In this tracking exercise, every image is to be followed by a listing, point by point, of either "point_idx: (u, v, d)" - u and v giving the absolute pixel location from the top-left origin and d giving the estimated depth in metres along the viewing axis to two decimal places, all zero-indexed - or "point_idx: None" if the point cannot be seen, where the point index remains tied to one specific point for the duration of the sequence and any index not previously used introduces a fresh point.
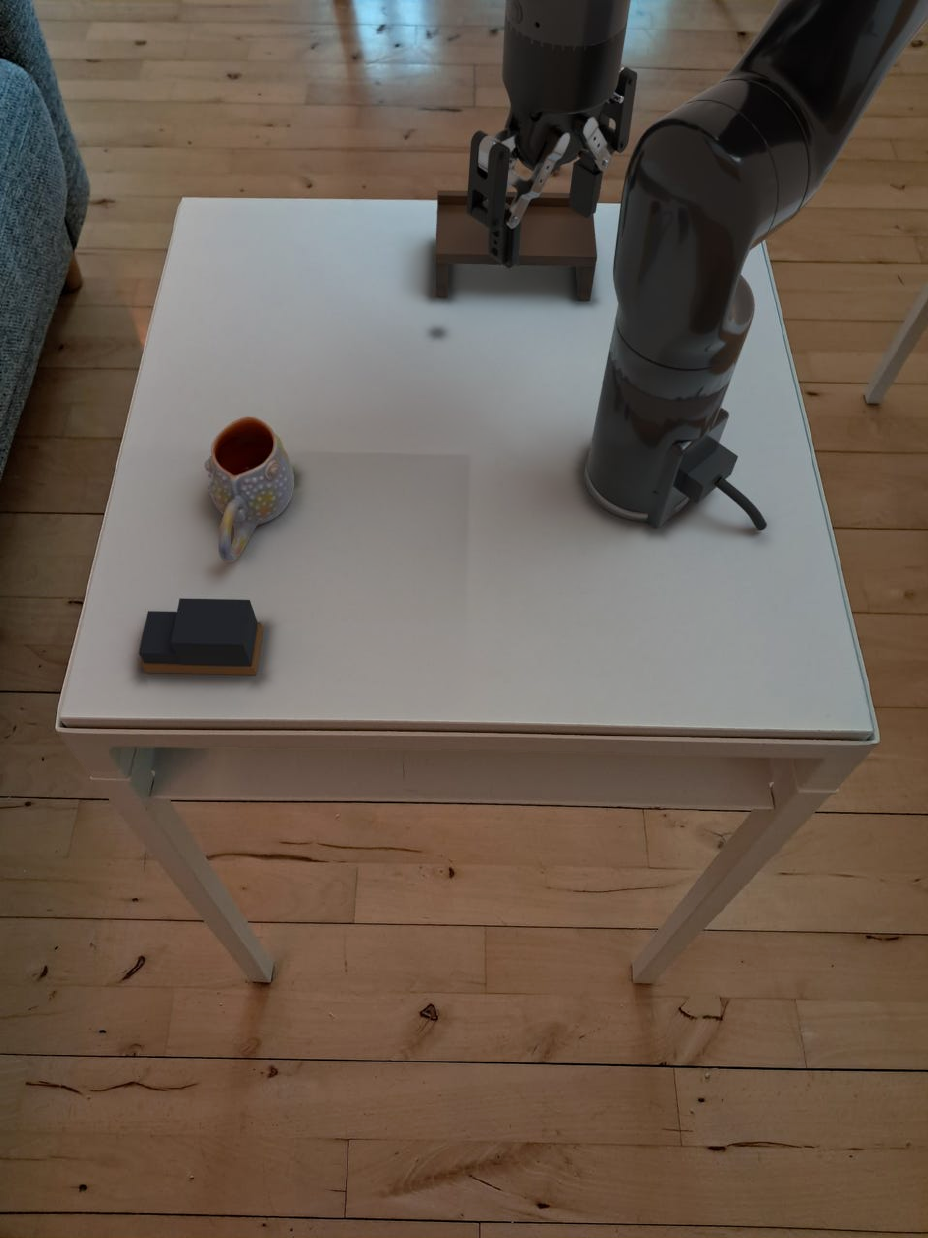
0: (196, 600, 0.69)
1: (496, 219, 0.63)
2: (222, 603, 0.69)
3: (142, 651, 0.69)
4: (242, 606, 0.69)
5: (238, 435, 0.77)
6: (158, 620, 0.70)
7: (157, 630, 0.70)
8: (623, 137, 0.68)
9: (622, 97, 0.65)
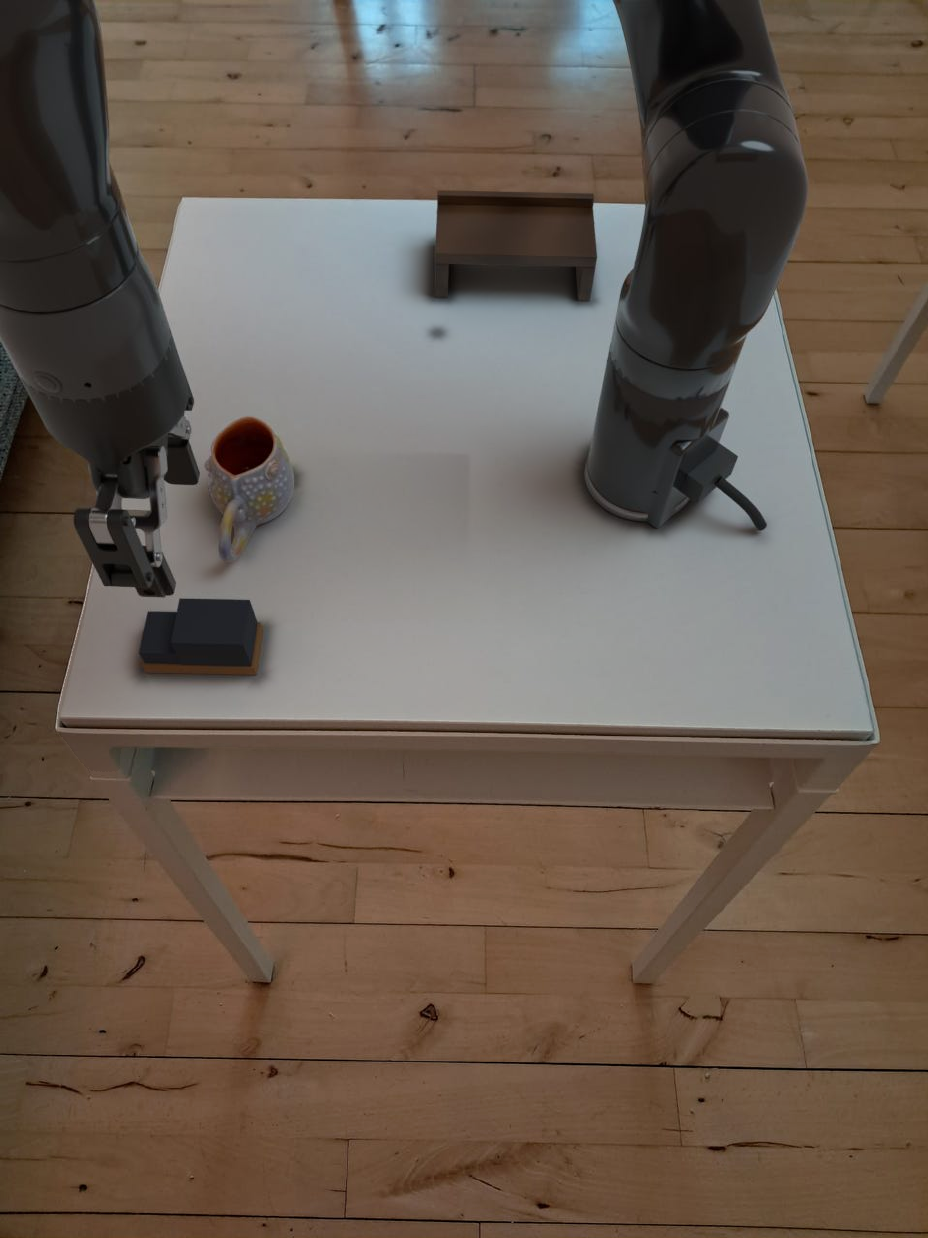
0: (196, 600, 0.69)
1: (147, 575, 0.51)
2: (222, 603, 0.69)
3: (142, 651, 0.69)
4: (242, 606, 0.69)
5: (238, 435, 0.77)
6: (158, 620, 0.70)
7: (157, 630, 0.70)
8: (188, 395, 0.58)
9: None
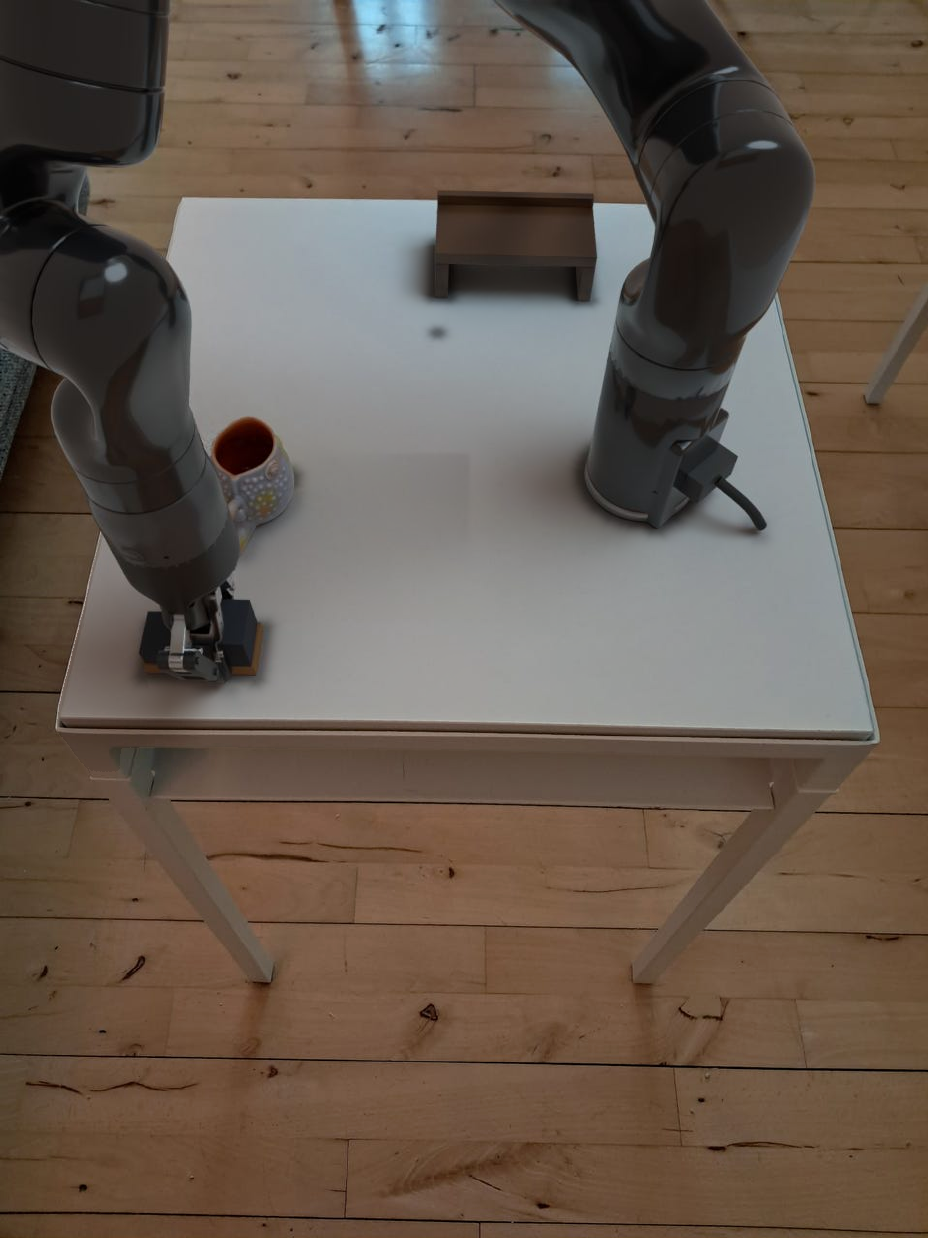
0: None
1: (214, 673, 0.65)
2: (222, 603, 0.69)
3: (142, 651, 0.69)
4: (242, 606, 0.69)
5: (238, 435, 0.76)
6: (158, 620, 0.70)
7: (157, 630, 0.70)
8: None
9: None
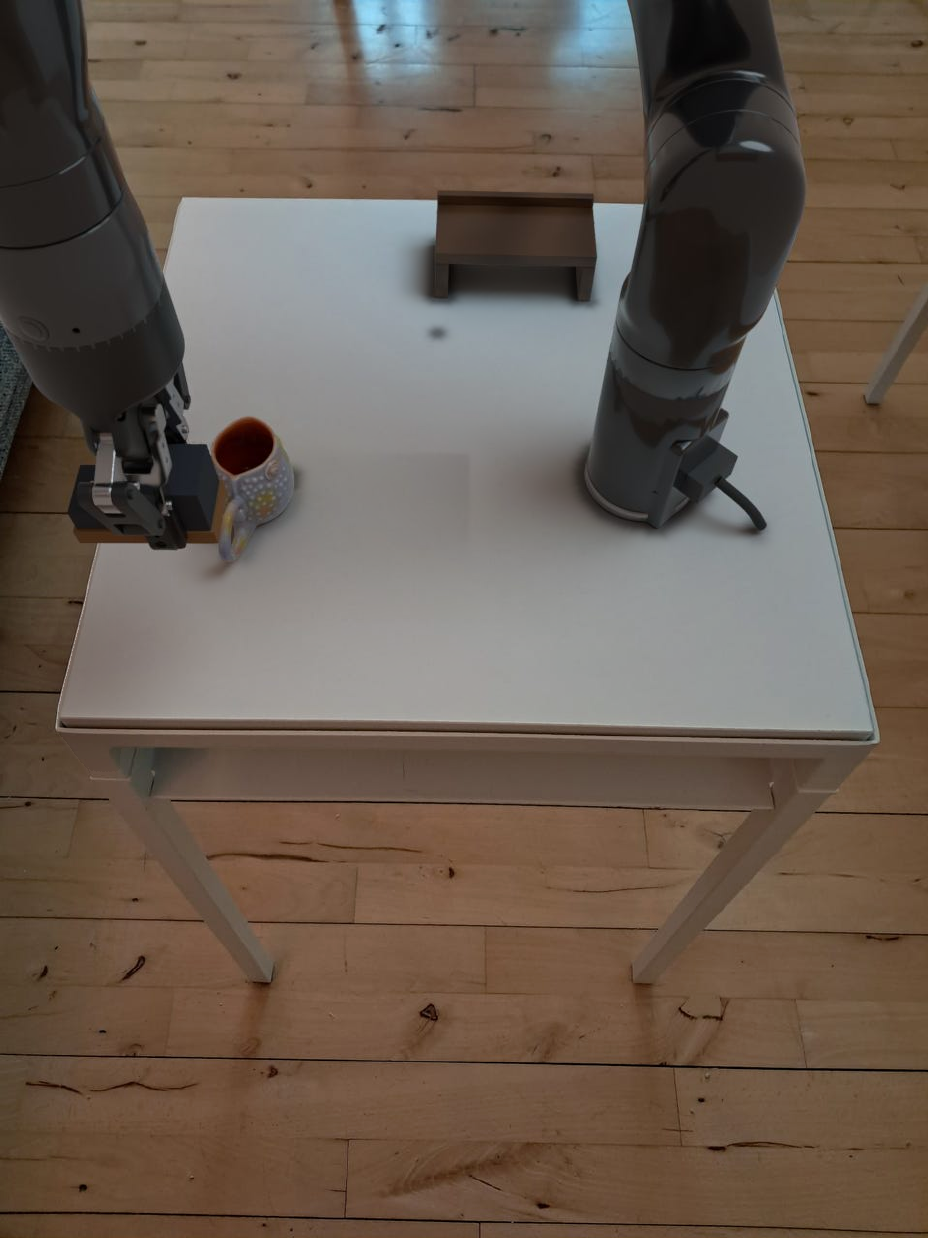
0: None
1: (159, 524, 0.50)
2: (172, 448, 0.54)
3: (71, 510, 0.54)
4: (197, 451, 0.54)
5: (238, 435, 0.77)
6: (93, 474, 0.56)
7: None
8: (185, 390, 0.55)
9: None
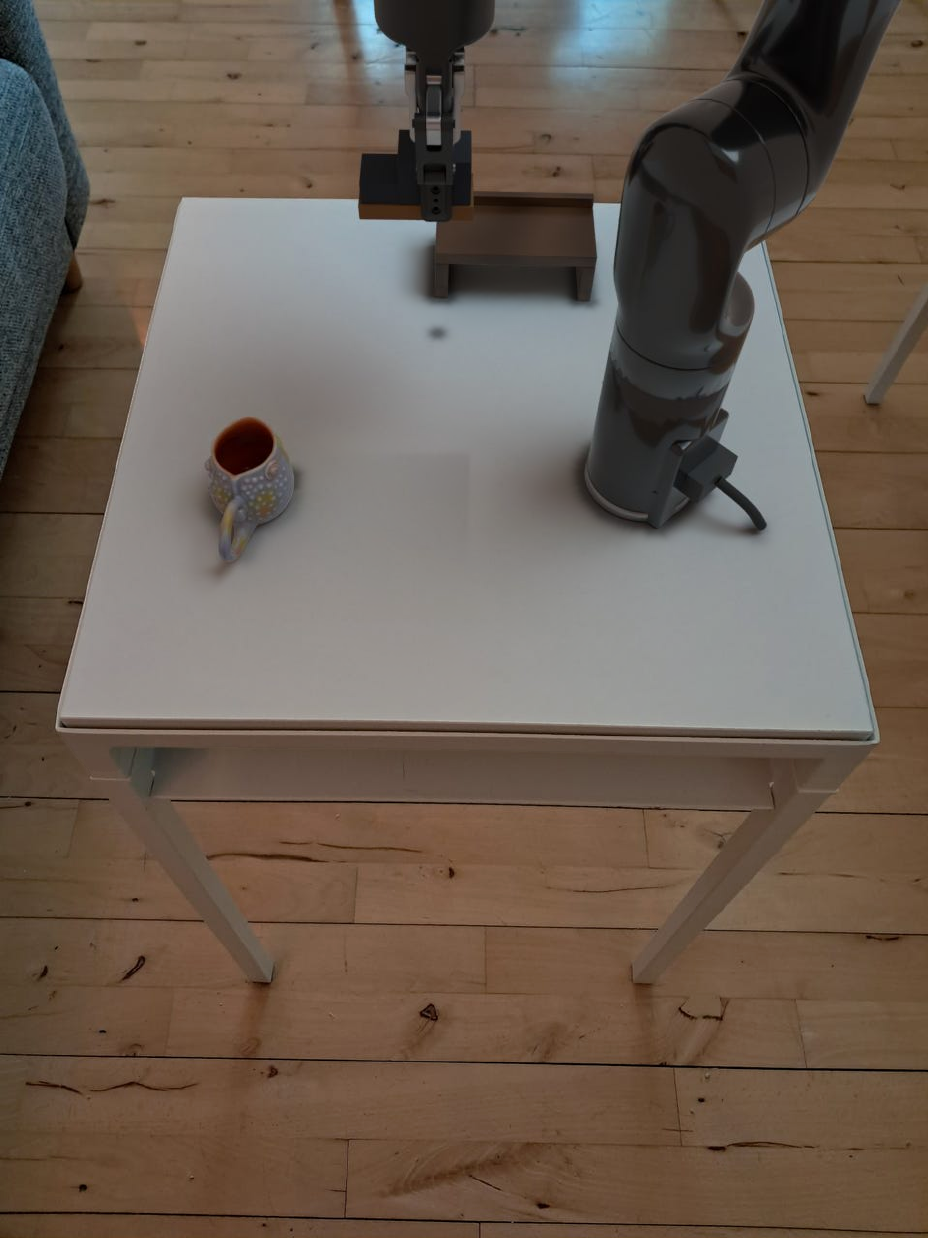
0: None
1: (453, 172, 0.63)
2: None
3: (362, 182, 0.67)
4: (464, 134, 0.67)
5: (238, 435, 0.77)
6: (374, 159, 0.68)
7: (374, 166, 0.68)
8: None
9: None
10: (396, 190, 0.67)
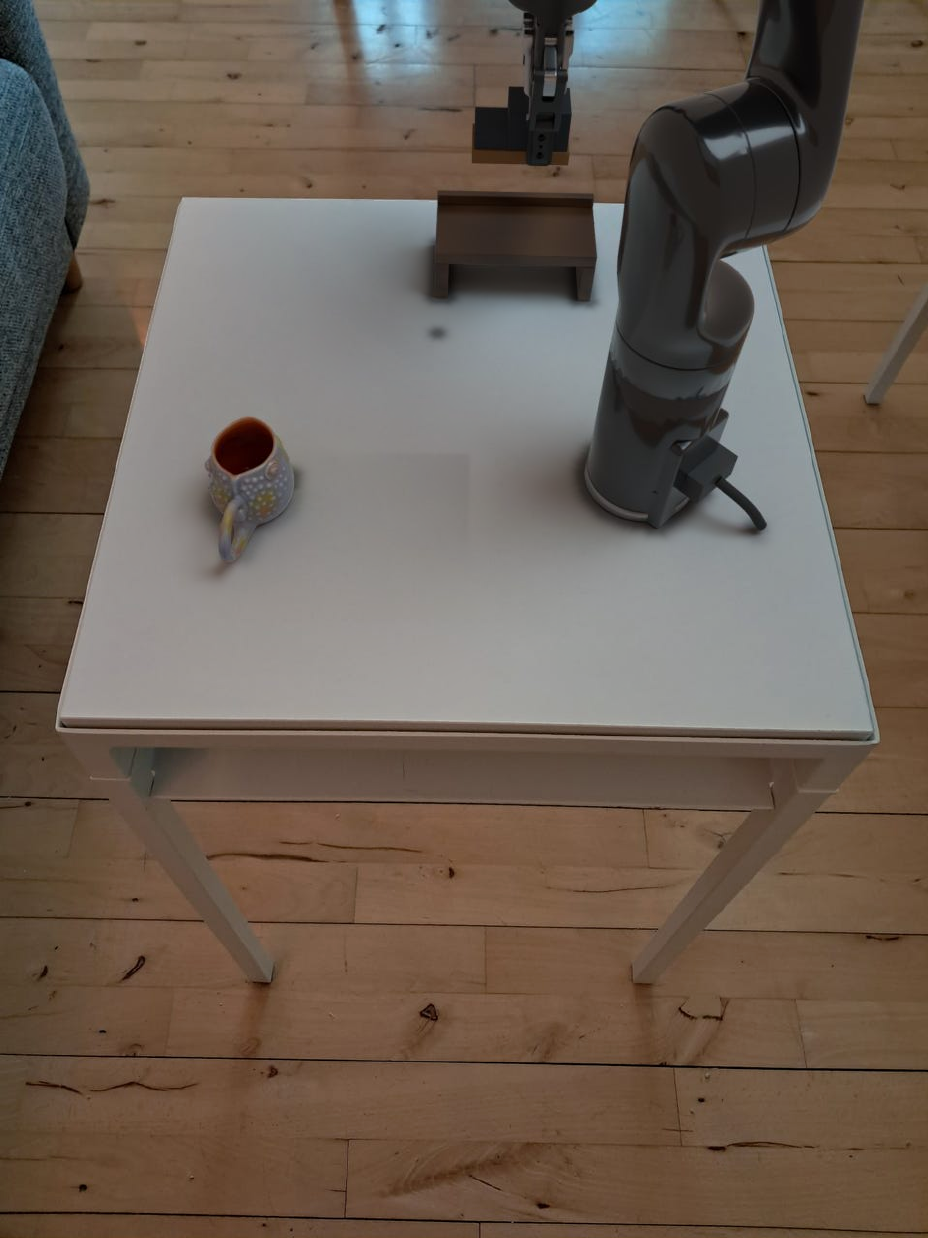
0: None
1: (559, 121, 0.75)
2: None
3: (477, 130, 0.79)
4: None
5: (238, 435, 0.77)
6: (486, 112, 0.81)
7: (487, 118, 0.80)
8: None
9: None
10: (505, 137, 0.80)
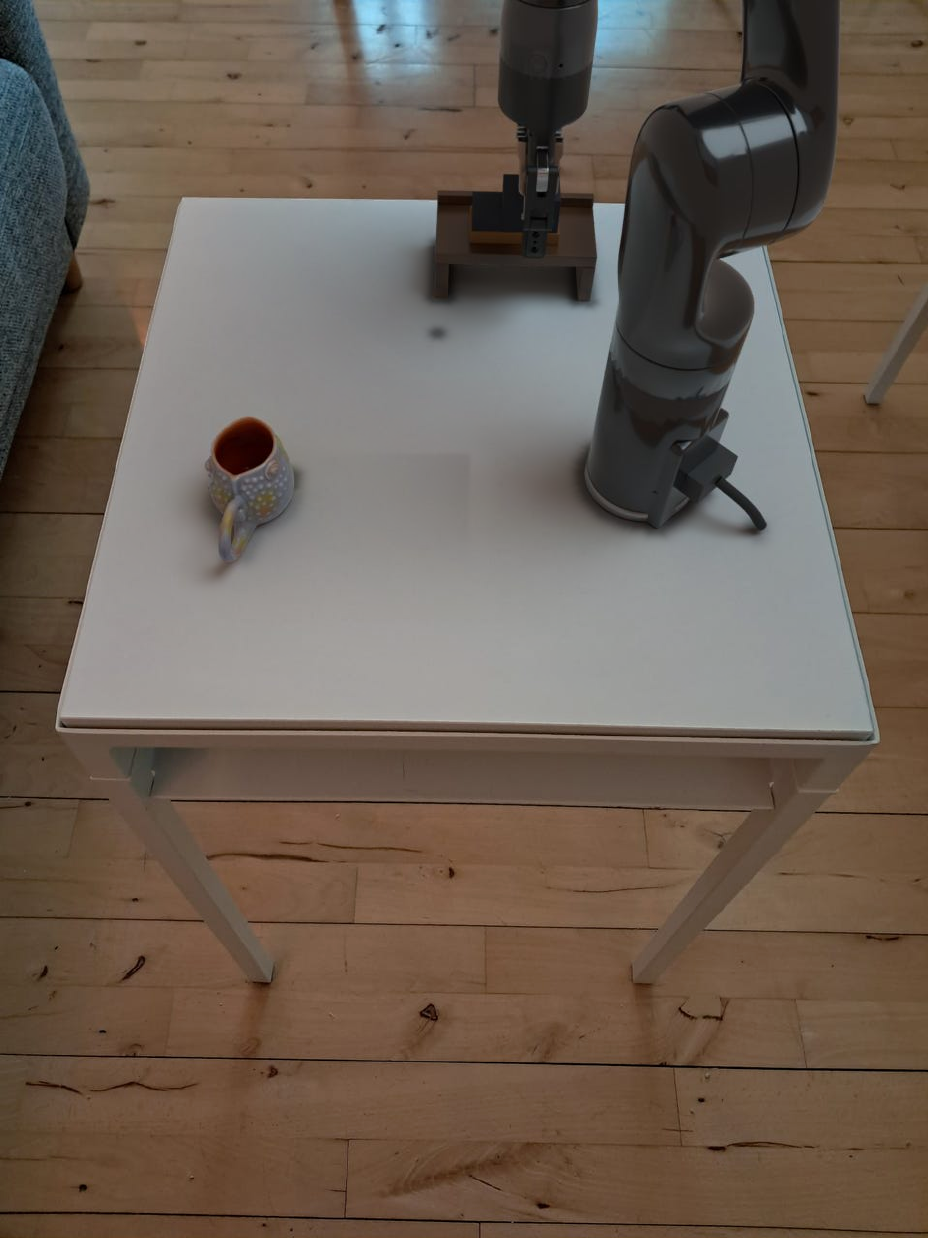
0: (517, 174, 0.86)
1: None
2: None
3: (475, 214, 0.86)
4: None
5: (238, 435, 0.77)
6: (482, 196, 0.88)
7: (483, 202, 0.87)
8: None
9: None
10: (500, 221, 0.87)
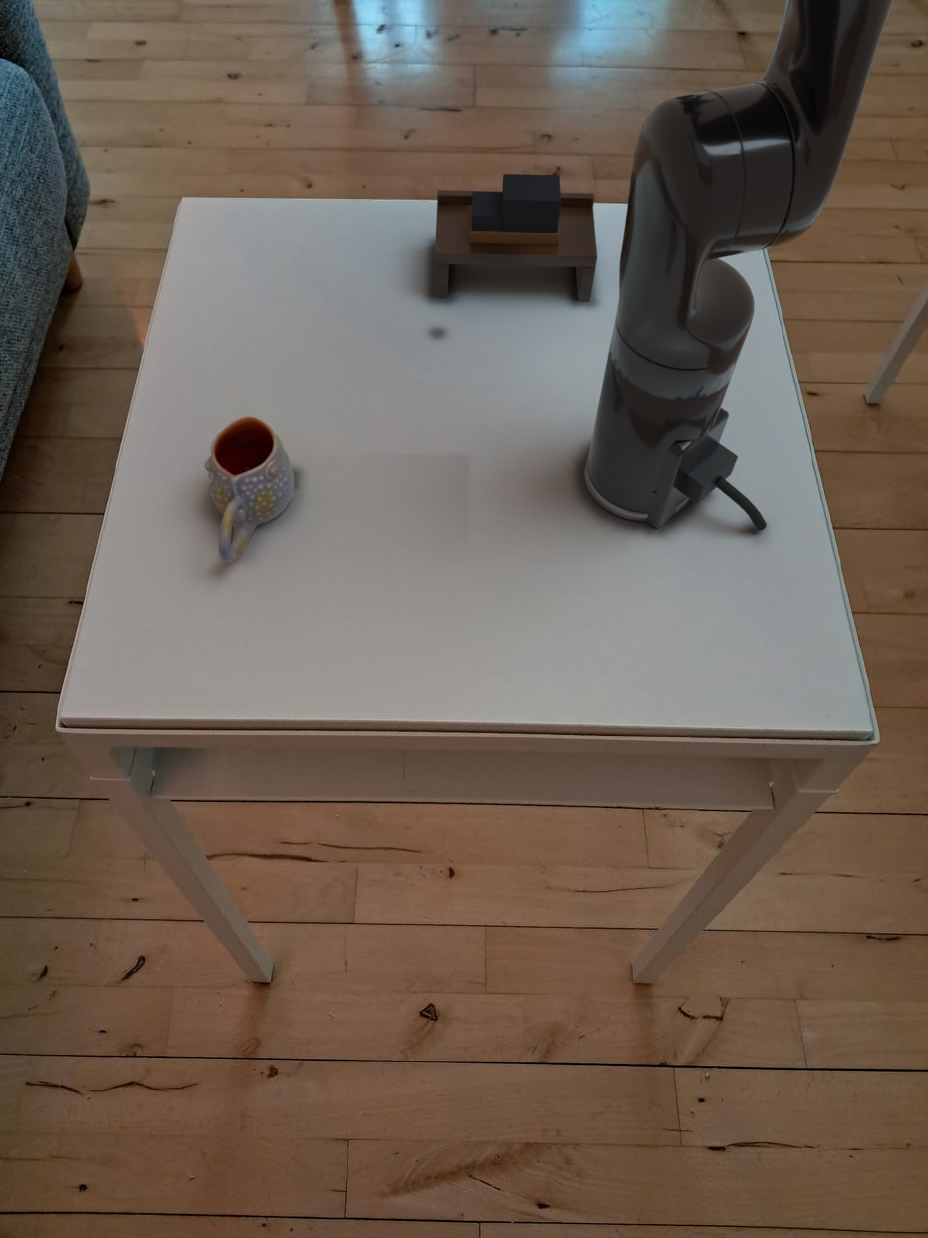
0: (517, 174, 0.86)
1: None
2: (538, 177, 0.86)
3: (475, 214, 0.86)
4: (554, 178, 0.86)
5: (238, 435, 0.77)
6: (482, 196, 0.88)
7: (483, 202, 0.87)
8: None
9: None
10: (500, 221, 0.87)
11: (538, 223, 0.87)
